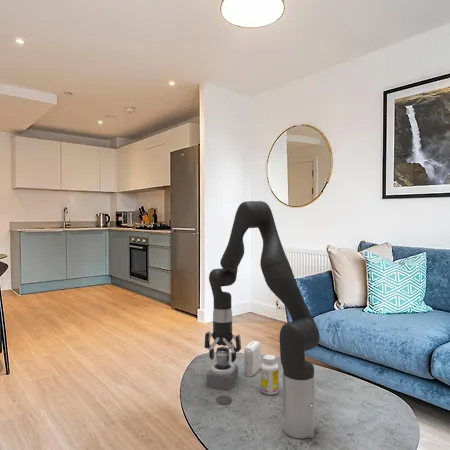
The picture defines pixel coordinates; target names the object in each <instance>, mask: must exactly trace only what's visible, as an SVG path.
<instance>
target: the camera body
mask: <svg viewBox="0 0 450 450" xmlns="http://www.w3.org/2000/svg"><path fill="white" fill-rule="evenodd" d="M238 378H239V364H235V363H233V362H229V369H227V370H219V369H217V361H216V362H214V363H212V364H211V365H210V369H209V371H208V372H207V373H206V388H209V387H212V388H211V389H216V388H218V389H217V390H222V389H223V390H224V391H230V390H231V388H232V387H233V385H234V384H235V382H236V381H237V379H238ZM223 390H222V391H223Z"/></svg>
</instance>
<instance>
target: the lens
mask: <svg viewBox="0 0 450 450" xmlns="http://www.w3.org/2000/svg"><path fill="white" fill-rule="evenodd" d="M215 354H216V362H217V369H219V370H227V369H229V363H230V354H231V352H230V349H229V348H228V346H218V347H217V348H216V353H215Z"/></svg>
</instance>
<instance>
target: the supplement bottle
mask: <svg viewBox="0 0 450 450" xmlns="http://www.w3.org/2000/svg"><path fill="white" fill-rule="evenodd" d="M262 361H263V362H261V367H260V391H261V392H262V394H264V395H268V396H269V395H270V396H271V395H277V394H278V393H279V390H280V389H279V388H280V387H279V386H280V385H279V383H280V382H279V381H280V380H279V379H280V378H279V373H280V372H279V365H278V363H277V362H276V361H277V358H276V356H275V355H273V354H265V355H263V357H262Z"/></svg>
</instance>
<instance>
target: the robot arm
mask: <svg viewBox="0 0 450 450" xmlns="http://www.w3.org/2000/svg"><path fill="white" fill-rule="evenodd" d="M232 223H233V224H232V227H231V231H230V236H229V240H228V242H227V245H226V247H225V250H224V251H223V255H222V257H221V258H220V267H221V268H214V269H212V270H211V271H210V272H209V275H208V281H209V284H210V289H211V293H212V297H213V310H212V311H213V312H212V332H210V331H207V332H205V335H204V348H205V349H208V350H209V351H208V354H209V355H208V357H209V359H210V360H212V361H213V360H214V358H215V346H216V345H217V346H222V347H227V348H229V351H231V352H230V354H231V355H230V356H231V358H230V359H231V361H230V363H235V361H237V353H239V352H240V350H242V345H241V343H242V342H241V335H240V334H236V335H235V334H233V310H232V309H233V308H232V295H231V293H230V292H227V291H223V290H222V287H230V286H232V285H234V283H235V282H236V280H237V276H238V275H237V274H238V271H239V270H238V269H239V266H240V263H241V261H242V260H243V257H244V254H245V245H244V236H245V234H246V233H247V231H248V229H258V231H259V233H260V237H261V239H262V250H261V255H260V264H259V265H260V270H261V272H262V275H263V278H264V281H265V283H266V285H267V287H268V288H269V289H270V291H271V292H272V293H273V294H274V296H276V297H277V298H278V299H279V300H280V301H281V302H282V304H283V305H284V307H285V309H287V311H288V313H289V316H290V319H291V320H292V321H289V322H285V323H284V324H283V325H282V326H281V328H280V330H279V355H280V362H281V363H280V364H281V366H282V387H283V388H282V408H283V409H282V417H283V418H282V431H283V432H284V433H285V434H286V435H287V436H289V437H292V438H294V439H299V440H301V439H302V440H303V439H309V438H311V439H313V438H314V435H315V427H316V426H315V424H316V421H315V420H316V417H315V415H316V414H315V413H316V412H315V411H316V405H315V404H316V401H315V400H316V396H315V367H314V364H313V363H312V362H310V361H308V360H306V356H305V352H307V351H310V350H312V349H315V348H316V347H317V346H318V345H319V343H320V340H321V339H320V330H319V328H318V325H317V323H316V322H315V320H314V318H313V317H314V316H313V315H312V313H311V311H310V310H309V308H308V306H307V303H306V302H305V300H304V298H303V295H302V292H301V290H300V287H299V286H298V282H297V281H296V278H295V275H294V272H293V269H292V267H291V264H290V261H289V260H288V257H287V255H286V253H285V249H284V246H283V244H282V242H281V239H280V235H279V232H278V229H277V225H276V223H275V219H274V214H273V212H272V209H271V207H270V205H269V204H268V203H267V202H266V201H262V200H249V201H243V202H240V204H239V205H238V207H237V209H236V212H235V215H234V220H233V222H232ZM211 338H212V339H213V342H212V343H210V340H211ZM233 340H234V342H235V344H234V342H233Z"/></svg>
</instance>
